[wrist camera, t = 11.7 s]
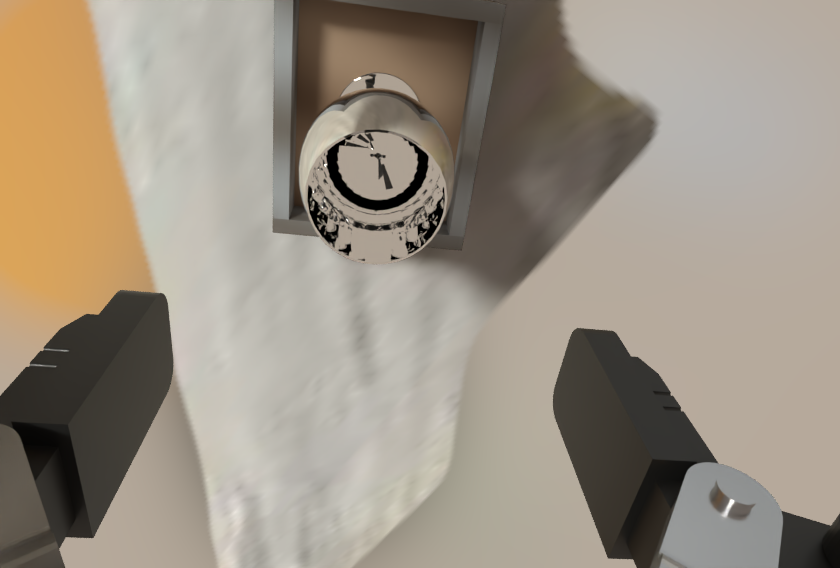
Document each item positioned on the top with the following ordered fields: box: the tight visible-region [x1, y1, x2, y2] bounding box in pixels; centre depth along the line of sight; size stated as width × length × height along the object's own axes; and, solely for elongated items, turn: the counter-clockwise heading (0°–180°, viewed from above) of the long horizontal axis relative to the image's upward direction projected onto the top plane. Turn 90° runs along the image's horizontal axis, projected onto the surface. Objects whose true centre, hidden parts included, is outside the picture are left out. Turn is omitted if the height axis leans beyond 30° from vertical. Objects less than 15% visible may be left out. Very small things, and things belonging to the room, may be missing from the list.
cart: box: [273, 0, 506, 250], centre depth 30 cm, size 12×10×5 cm
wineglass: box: [299, 72, 455, 264], centre depth 24 cm, size 6×6×12 cm
